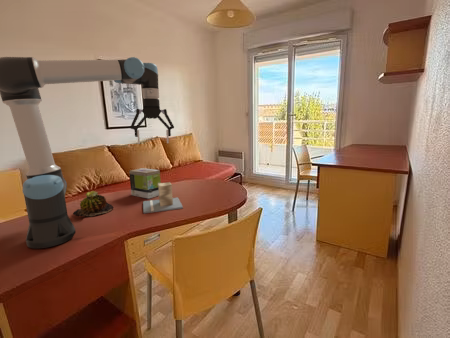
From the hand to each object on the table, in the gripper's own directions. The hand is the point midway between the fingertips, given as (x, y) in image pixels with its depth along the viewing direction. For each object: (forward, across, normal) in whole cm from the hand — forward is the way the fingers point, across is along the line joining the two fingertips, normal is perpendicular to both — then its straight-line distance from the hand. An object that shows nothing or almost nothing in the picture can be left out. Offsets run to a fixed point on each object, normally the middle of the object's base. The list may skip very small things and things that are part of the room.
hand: (153, 143), depth 119 cm
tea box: (+31, -5, +18) cm, 36 cm away
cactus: (+32, -29, 0) cm, 43 cm away
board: (+31, +2, -4) cm, 31 cm away
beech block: (+30, +4, -4) cm, 30 cm away
